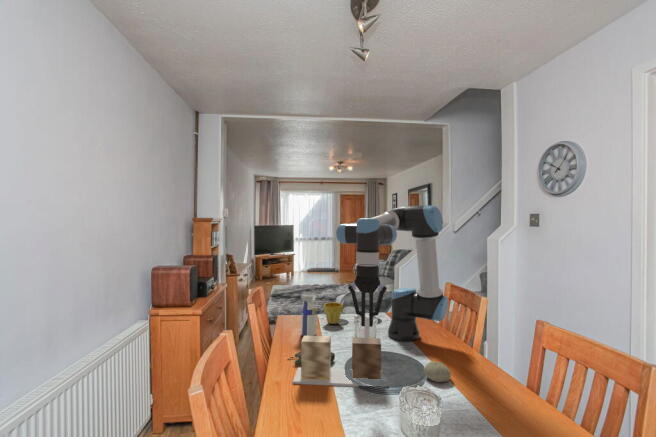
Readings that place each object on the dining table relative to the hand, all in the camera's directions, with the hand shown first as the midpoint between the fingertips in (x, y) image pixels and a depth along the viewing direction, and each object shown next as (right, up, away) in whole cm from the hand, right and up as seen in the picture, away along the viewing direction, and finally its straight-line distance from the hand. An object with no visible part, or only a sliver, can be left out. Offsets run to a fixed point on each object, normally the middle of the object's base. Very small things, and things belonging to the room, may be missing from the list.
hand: (366, 335), depth 110 cm
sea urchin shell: (+27, -19, +12) cm, 35 cm away
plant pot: (-10, -19, +75) cm, 78 cm away
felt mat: (-8, -19, +9) cm, 22 cm away
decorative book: (-21, -19, +23) cm, 36 cm away
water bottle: (-22, -19, +56) cm, 63 cm away
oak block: (-17, -18, +10) cm, 27 cm away
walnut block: (+1, -18, +9) cm, 20 cm away
